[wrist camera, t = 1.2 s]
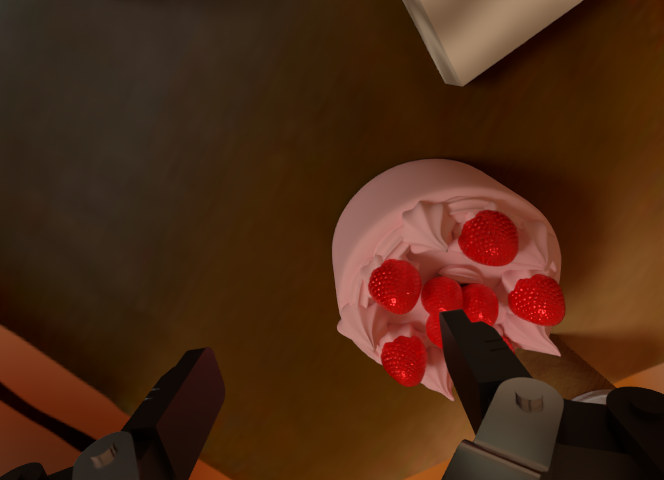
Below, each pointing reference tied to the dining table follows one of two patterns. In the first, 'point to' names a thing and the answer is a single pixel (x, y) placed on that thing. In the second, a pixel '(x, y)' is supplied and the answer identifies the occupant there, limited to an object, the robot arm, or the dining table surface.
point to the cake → (442, 267)
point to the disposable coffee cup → (566, 373)
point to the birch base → (479, 30)
